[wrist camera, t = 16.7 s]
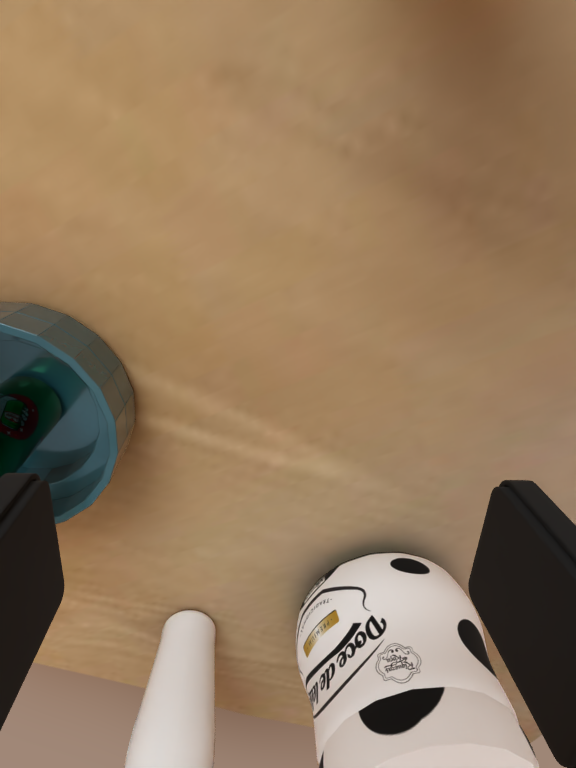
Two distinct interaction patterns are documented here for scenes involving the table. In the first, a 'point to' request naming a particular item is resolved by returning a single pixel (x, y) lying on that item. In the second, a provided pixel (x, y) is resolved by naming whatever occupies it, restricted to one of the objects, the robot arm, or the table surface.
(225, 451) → the table surface
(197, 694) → the drinking glass
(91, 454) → the bowl
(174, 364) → the table surface
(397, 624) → the milk container
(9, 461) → the soda can
